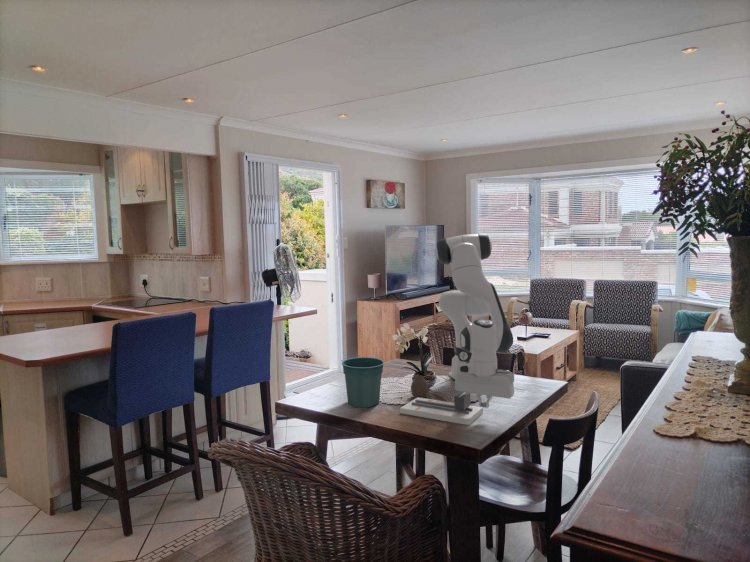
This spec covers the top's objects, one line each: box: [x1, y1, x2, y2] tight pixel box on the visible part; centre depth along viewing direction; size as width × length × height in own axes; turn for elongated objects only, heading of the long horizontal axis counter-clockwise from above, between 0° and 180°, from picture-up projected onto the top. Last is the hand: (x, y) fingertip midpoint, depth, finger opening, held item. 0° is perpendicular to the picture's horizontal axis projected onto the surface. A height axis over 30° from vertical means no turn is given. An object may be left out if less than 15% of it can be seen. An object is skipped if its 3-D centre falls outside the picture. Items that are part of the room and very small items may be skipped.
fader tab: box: [453, 392, 471, 410], centre depth 189 cm, size 6×4×6 cm, turn 149°
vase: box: [410, 374, 429, 399], centre depth 212 cm, size 7×7×9 cm
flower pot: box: [341, 356, 385, 409], centre depth 206 cm, size 16×16×16 cm
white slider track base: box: [399, 397, 484, 426], centre depth 193 cm, size 14×26×3 cm, turn 59°
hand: (484, 407), depth 185 cm, fingers closed
